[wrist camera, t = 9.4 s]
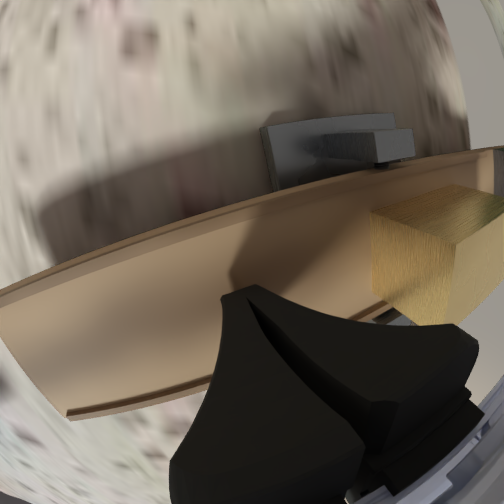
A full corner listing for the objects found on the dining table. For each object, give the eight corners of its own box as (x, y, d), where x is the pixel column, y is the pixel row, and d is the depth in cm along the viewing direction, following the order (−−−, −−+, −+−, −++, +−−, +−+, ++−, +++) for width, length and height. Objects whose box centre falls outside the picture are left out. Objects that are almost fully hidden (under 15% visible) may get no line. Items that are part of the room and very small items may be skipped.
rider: (451, 247, 14) (508, 274, 10) (371, 291, 12) (439, 340, 8) (453, 183, 12) (518, 201, 8) (369, 212, 11) (456, 245, 7)
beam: (503, 221, 18) (549, 240, 13) (69, 410, 10) (60, 502, 5) (504, 141, 15) (556, 153, 10) (-14, 288, 7) (-81, 372, 2)
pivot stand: (392, 285, 19) (437, 314, 14) (298, 331, 17) (336, 377, 13) (382, 113, 14) (442, 111, 10) (259, 128, 12) (306, 117, 8)
